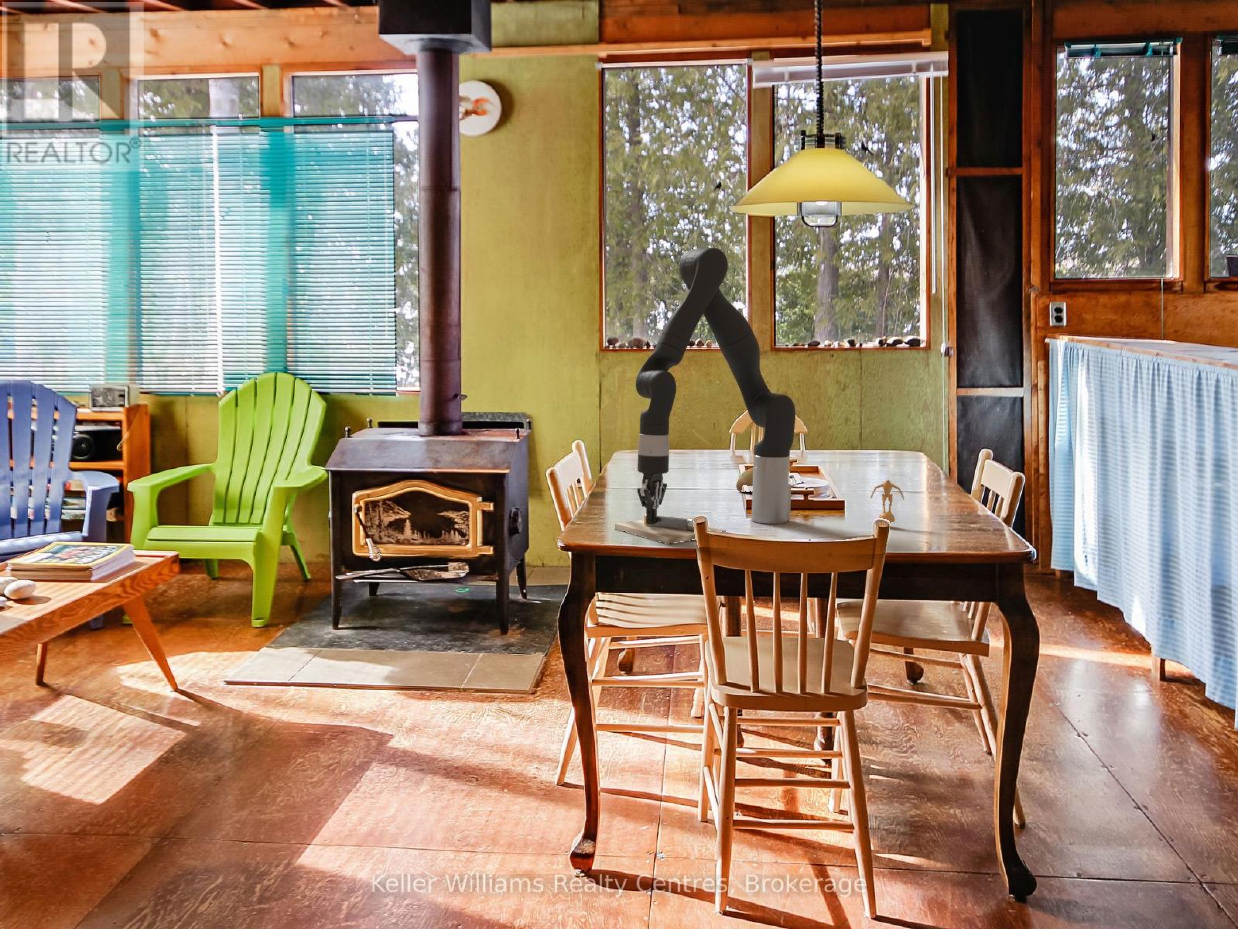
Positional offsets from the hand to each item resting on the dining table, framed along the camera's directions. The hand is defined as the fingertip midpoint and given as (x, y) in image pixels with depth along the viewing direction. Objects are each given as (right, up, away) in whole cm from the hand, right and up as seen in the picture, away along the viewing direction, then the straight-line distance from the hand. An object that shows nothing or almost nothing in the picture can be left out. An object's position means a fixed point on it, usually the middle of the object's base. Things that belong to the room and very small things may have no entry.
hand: (651, 523), depth 269 cm
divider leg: (+5, -1, 0) cm, 5 cm away
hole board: (+5, -2, +2) cm, 6 cm away
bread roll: (+35, +6, +65) cm, 74 cm away
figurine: (+61, -2, +15) cm, 63 cm away
